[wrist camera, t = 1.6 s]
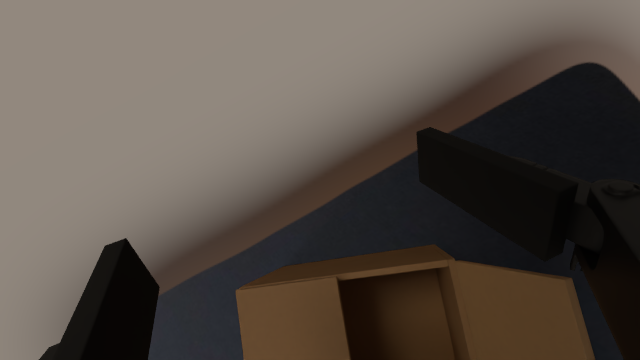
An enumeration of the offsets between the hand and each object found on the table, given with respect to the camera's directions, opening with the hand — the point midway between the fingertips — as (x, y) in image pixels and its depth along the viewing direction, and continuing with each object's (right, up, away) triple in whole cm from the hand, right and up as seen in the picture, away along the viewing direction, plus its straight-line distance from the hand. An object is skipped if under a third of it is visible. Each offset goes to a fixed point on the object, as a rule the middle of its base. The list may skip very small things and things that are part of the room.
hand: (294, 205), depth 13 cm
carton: (+6, -14, +19) cm, 24 cm away
